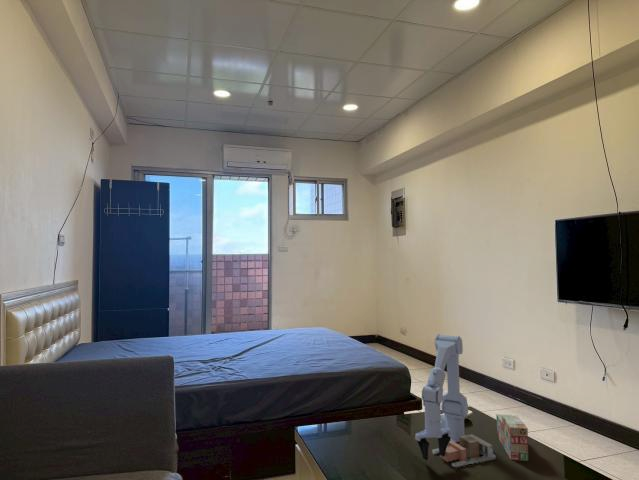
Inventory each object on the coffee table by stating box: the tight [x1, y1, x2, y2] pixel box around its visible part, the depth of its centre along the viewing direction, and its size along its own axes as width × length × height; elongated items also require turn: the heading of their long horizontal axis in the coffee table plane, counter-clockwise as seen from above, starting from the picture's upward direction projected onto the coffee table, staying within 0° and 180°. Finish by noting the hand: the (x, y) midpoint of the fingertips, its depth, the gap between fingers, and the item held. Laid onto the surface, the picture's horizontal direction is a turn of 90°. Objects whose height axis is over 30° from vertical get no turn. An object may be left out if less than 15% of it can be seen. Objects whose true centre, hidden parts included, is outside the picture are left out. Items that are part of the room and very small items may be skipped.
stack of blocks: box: [495, 413, 529, 462], centre depth 162 cm, size 21×6×12 cm, turn 169°
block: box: [458, 434, 480, 459], centre depth 156 cm, size 6×4×6 cm, turn 22°
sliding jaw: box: [439, 440, 467, 463], centre depth 153 cm, size 8×7×4 cm
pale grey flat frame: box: [431, 433, 497, 468], centre depth 155 cm, size 13×19×4 cm
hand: (433, 457), depth 150 cm, fingers open, 7 cm apart
